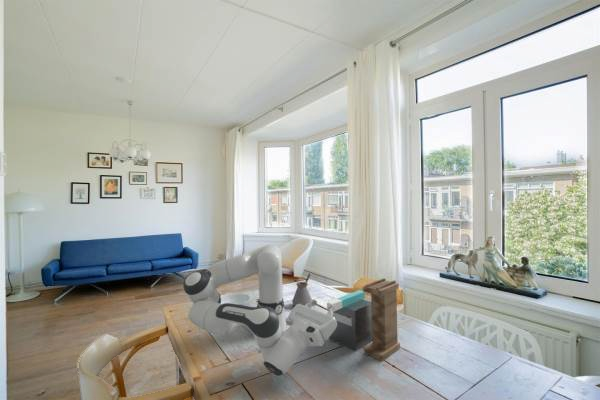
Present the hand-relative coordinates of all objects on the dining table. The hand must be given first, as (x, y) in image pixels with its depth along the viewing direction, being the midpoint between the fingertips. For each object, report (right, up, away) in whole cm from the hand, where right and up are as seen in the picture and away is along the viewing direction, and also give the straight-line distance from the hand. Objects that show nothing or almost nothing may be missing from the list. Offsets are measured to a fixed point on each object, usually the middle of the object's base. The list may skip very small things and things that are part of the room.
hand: (323, 303), depth 109 cm
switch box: (+13, -20, +11) cm, 26 cm away
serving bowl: (-47, -21, +46) cm, 69 cm away
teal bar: (+11, -4, +10) cm, 15 cm away
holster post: (+23, -19, +2) cm, 30 cm away
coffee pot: (-6, -21, +56) cm, 60 cm away
